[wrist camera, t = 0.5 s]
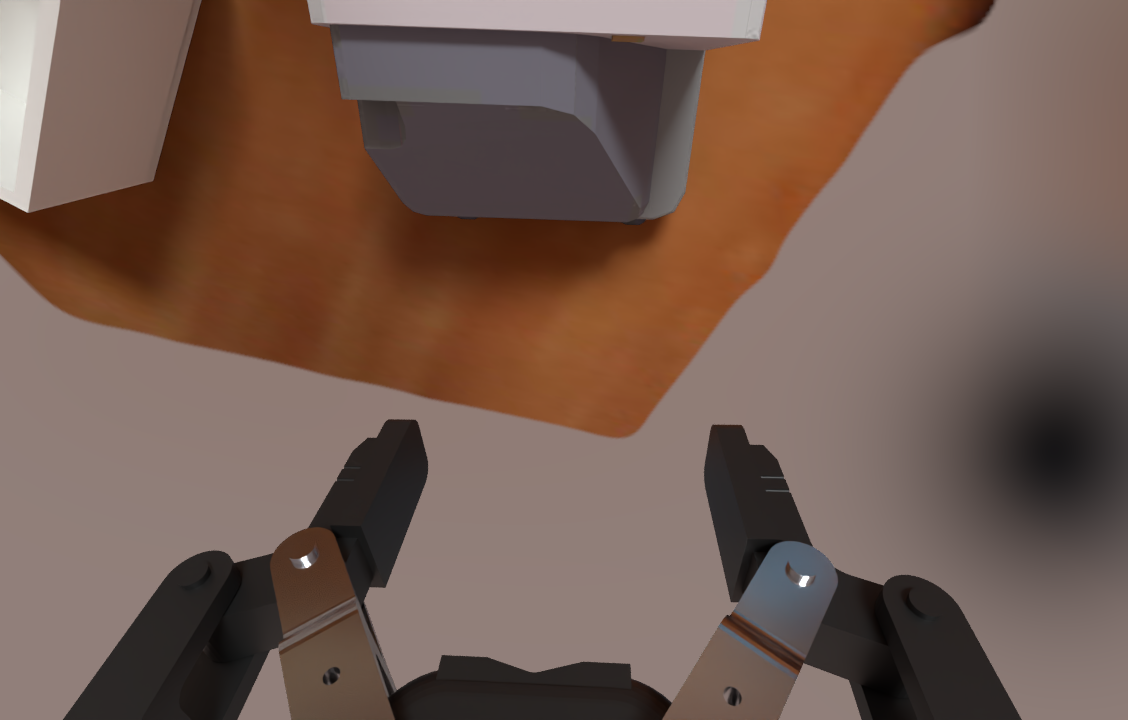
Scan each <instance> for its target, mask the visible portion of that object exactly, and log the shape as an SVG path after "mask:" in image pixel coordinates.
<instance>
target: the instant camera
mask: <svg viewBox="0 0 1128 720" xmlns="http://www.w3.org/2000/svg"><path fill="white" fill-rule="evenodd" d="M307 2H308V7H309V13H310V18H311V23H312V24H314V25H319V26H324V27H329V28H330V31H331V37H332V43H333V49H334V55H335V61H336V67H337V73H338V79H339V85H340V91H341V97H342V99H351V100H357V101H358V108H359V114H360V121H361V128H362V134H363V141H364V147H365V150H366V151H367V152H368V154H369V155H370V157H371V158H372V160H373V161H374V162H375V164H376V165H377V167H378V168H379V169H380V171H381V172H382V174H383V175H384V177H385V178H386V179H387V181H388V182H389V184H390V185H391V187H392V188H393V189H394V191H395V192H396V194H397V195H398V197H399V198H400V199H401V201H402V202H403V203H404V204H405V205H406V206H407V207H408V208H410V209H411V210H412V211H413V212H417V213H420V214H424V215H432V216H457V217H459V218H461V219H476V218H478V217H490V218H519V219H549V220H578V221H607V222H622V223H624V224H627V225H640V224H642V223H644V221H645V220H646V219H653V220H654V219H656V218H659V217H662V216H665V215H667V214H670V213H673V212H674V211H675V209H676V208H677V206H678V204H679V202H680V201H681V199H682V197H683V195H684V194H685V190H686V183H687V176H688V169H689V162H690V155H691V148H692V141H693V134H694V126H695V119H696V112H697V105H698V98H699V91H700V84H701V77H702V70H703V63H704V56H705V50H710V49H715V48H720V47H726V46H731V45H737V44H742V43H748V42H753V41H758V40H760V34H761V29H762V24H763V18H764V13H765V8H766V2H767V0H307Z"/></svg>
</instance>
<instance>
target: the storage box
mask: <svg viewBox="0 0 1128 720" xmlns="http://www.w3.org/2000/svg"><path fill="white" fill-rule="evenodd" d="M201 1H202V0H0V199H2V200H4V201H6V202H8V203H10V204H12V205H14V206H16V207H17V208H19V209H21V210H23V211H25V212H27V213H30V212H34V211H37V210H41V209H45V208H49V207H53V206H57V205H61V204H65V203H69V202H73V201H77V200H81V199H85V198H88V197H92V196H96V195H100V194H104V193H108V192H112V191H116V190H120V189H124V188H128V187H132V186H136V185H140V184H143V183H147V182H151V181H153V180H154V176H155V172H156V169H157V165H158V161H159V157H160V154H161V150H162V146H163V143H164V139H165V135H166V131H167V128H168V124H169V120H170V116H171V113H172V109H173V105H174V101H175V98H176V94H177V90H178V86H179V83H180V79H181V75H182V72H183V68H184V64H185V60H186V57H187V53H188V49H189V45H190V42H191V38H192V34H193V30H194V27H195V23H196V19H197V15H198V12H199V8H200V4H201Z"/></svg>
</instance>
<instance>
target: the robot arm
mask: <svg viewBox="0 0 1128 720" xmlns="http://www.w3.org/2000/svg"><path fill="white" fill-rule="evenodd" d="M427 474H428V460H427V456H426V452H425V448H424V444H423V440H422V436H421V432H420V428H419V425H418V422H417V421H416V420H392V419H391V420H387V421H386V422H385V423H384V425H383V427H382V429H381V431H380V433H379V435H378V436H377V438H367V439H366V440H365V441H364V442H363V443H361V444H360V445H359V446H358V447H357V448H356V449H355V450H354V451H353V452H352V453H351V455H350V457H349V459H348V460H347V462H346V464H345V466H344V469H342V471H341V473H340V474H339V476H338V477H337V481H336V482H335V483H334V485H333V486H332V488H331V490H330V491H329V493H328V495H327V496H326V498H325V500H324V502H323V503H322V505H321V507H320V508H319V510H318V512H317V514H316V515H315V517H314V519H313V521H312V522H311V524H310V526H309V527H308V528H307V529H304V530H301V531H299V532H297V533H295V534H293V535H291V536H290V537H288V538H287V539H286V540H285V541H283V542H282V543H281V544H280V545H279V546H278V547H277V549H276V550H275V552H274V553H272V554H269V555H265V556H262V557H257V558H253V559H249V560H245V561H241V562H237V563H234V562H233V561H232V559H231V558H230V556H229V555H228V554H226V553H225V552H222V551H207V552H203V553H200V554H197V555H195V556H193V557H191V558H189V559H187V560H185V561H184V562H182V563H181V564H179V565H178V566H177V567H176V568H174V569H173V570H172V571H171V572H170V573H169V574H168V576H167V577H166V578H165V579H164V581H163V582H162V583H161V585H160V586H159V587H158V589H157V590H156V592H155V593H154V594H153V596H152V597H151V599H150V600H149V601H148V603H147V604H146V605H145V607H144V608H143V610H142V611H141V612H140V614H139V615H138V617H137V618H136V619H135V621H134V622H133V624H132V625H131V626H130V628H129V629H128V630H127V632H126V633H125V635H124V636H123V637H122V639H121V640H120V641H119V643H118V644H117V646H116V647H115V648H114V650H113V651H112V653H111V654H110V655H109V657H108V658H107V659H106V661H105V662H104V664H103V665H102V666H101V668H100V669H99V671H98V672H97V673H96V675H95V676H94V677H93V679H92V680H91V682H90V683H89V684H88V686H87V687H86V689H85V690H84V692H83V693H82V694H81V695H80V697H79V698H78V700H77V701H76V702H75V704H74V705H73V707H72V708H71V710H70V711H69V712H68V714H67V715H66V716H65V718H64V719H63V720H237V719H238V717H239V715H240V713H241V710H242V708H243V706H244V704H245V702H246V700H247V698H248V696H249V693H250V691H251V689H252V687H253V685H254V683H255V681H256V679H257V676H258V675H259V672H260V670H261V668H262V666H263V664H264V662H265V660H266V658H267V655H268V653H269V651H270V650H271V649H275V648H278V647H279V654H280V661H281V666H282V671H283V677H284V682H285V687H286V693H287V699H288V704H289V709H290V714H291V720H779V718H780V715H781V713H782V711H783V708H784V706H785V704H786V702H787V699H788V697H789V695H790V693H791V690H792V688H793V686H794V684H795V681H796V679H797V677H798V674H799V672H800V670H801V668H802V665H803V663H805V664H807V665H810V666H813V667H816V668H819V669H821V670H824V671H826V672H829V673H832V674H834V675H837V676H840V677H842V678H845V679H848V680H849V682H850V685H851V688H852V691H853V694H854V697H855V700H856V703H857V707H858V709H859V713H860V716H861V719H862V720H1022V719H1021V718H1020V716H1019V714H1018V712H1017V710H1016V709H1015V707H1014V705H1013V703H1012V701H1011V699H1010V698H1009V696H1008V694H1007V692H1006V690H1005V689H1004V687H1003V685H1002V683H1001V681H1000V679H999V678H998V676H997V674H996V672H995V671H994V669H993V667H992V665H991V663H990V661H989V660H988V658H987V656H986V654H985V652H984V650H983V649H982V647H981V645H980V643H979V641H978V640H977V638H976V636H975V634H974V632H973V630H972V629H971V627H970V625H969V623H968V621H967V619H966V618H965V616H964V614H963V612H962V611H961V609H960V607H959V606H958V604H957V603H956V602H955V601H954V599H953V598H952V597H951V596H950V595H948V594H947V593H946V592H945V591H944V590H942V589H941V588H940V587H938V586H937V585H935V584H933V583H931V582H929V581H927V580H925V579H922V578H919V577H916V576H911V575H899V576H894V577H892V578H890V579H889V580H887V582H886V583H885V584H884V586H883V585H880V584H877V583H874V582H870V581H867V580H864V579H861V578H857V577H854V576H851V575H848V574H845V573H844V572H841V571H839V570H838V569H836V568H834V566H833V565H832V563H831V562H830V561H829V559H828V558H827V557H826V556H825V555H824V554H822V553H821V552H820V551H819V550H817V549H815V548H814V547H813V546H812V544H811V542H810V539H809V537H808V534H807V532H806V530H805V527H804V525H803V522H802V520H801V517H800V515H799V512H798V510H797V507H796V505H795V502H794V500H793V497H792V495H791V493H789V488H788V485H787V483H786V480H785V479H784V475H783V473H782V470H781V468H780V465H779V463H778V460H777V459H776V458H775V457H774V456H773V455H772V454H771V453H770V452H769V451H768V450H767V449H766V448H765V446H764V445H750V444H749V442H748V439H747V436H746V433H745V430H744V428H743V426H742V425H712V427H711V431H710V436H709V443H708V448H707V455H706V460H705V467H704V481H705V489H706V493H707V497H708V502H709V507H710V511H711V515H712V520H713V525H714V529H715V533H716V538H717V542H718V546H719V551H720V556H721V560H722V565H723V568H724V573H725V578H726V582H727V587H728V591H729V595H730V600H731V602H738V604H737V606H736V607H735V609H734V611H733V612H732V614H731V615H730V616H729V615H727V616H726V617H725V618H724V619H723V620H722V622H721V623H720V625H719V626H718V628H717V630H716V631H715V633H714V635H713V636H712V638H711V640H710V641H709V643H708V645H707V646H706V648H705V650H704V651H703V653H702V654H701V656H700V658H699V660H698V661H697V663H696V664H695V666H694V668H693V669H692V671H691V673H690V675H689V676H688V678H687V679H686V681H685V683H684V684H683V686H682V688H681V689H680V691H679V693H678V694H677V696H676V698H675V699H674V701H673V702H672V703H671V702H670V701H669V700H668V699H667V698H666V697H664V696H663V695H662V694H661V693H659V692H657V691H656V690H654V689H653V688H651V687H649V686H647V685H645V684H643V683H641V682H639V681H636V680H633V679H631V668H630V664H619V663H598V662H580V663H576V664H572V665H567V666H563V667H559V668H554V669H550V670H546V671H542V672H537V673H532V672H528V671H525V670H522V669H519V668H516V667H514V666H511V665H508V664H505V663H502V662H499V661H496V660H493V659H491V658H488V657H469V656H447V655H442V657H441V661H440V665H439V669H438V671H434V672H431V673H428V674H425V675H423V676H420V677H418V678H417V679H414V680H413V681H411V682H409V683H407V684H406V685H404V686H403V687H401V688H400V689H398V690H397V689H396V687H395V684H394V682H393V679H392V677H391V675H390V672H389V669H388V667H387V664H386V661H385V658H384V656H383V653H382V650H381V647H380V644H379V642H378V639H377V636H376V633H375V630H374V627H373V624H372V622H371V619H370V616H369V613H368V610H367V608H366V605H365V602H364V599H365V597H366V594H367V592H368V590H369V587H383V588H385V587H386V584H387V582H388V579H389V577H390V574H391V572H392V569H393V566H394V564H395V561H396V559H397V556H398V553H399V551H400V548H401V545H402V543H403V540H404V537H405V535H406V532H407V530H408V527H409V525H410V522H411V519H412V517H413V514H414V511H415V509H416V506H417V503H418V501H419V498H420V496H421V493H422V490H423V488H424V485H425V483H426V479H427Z"/></svg>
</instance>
